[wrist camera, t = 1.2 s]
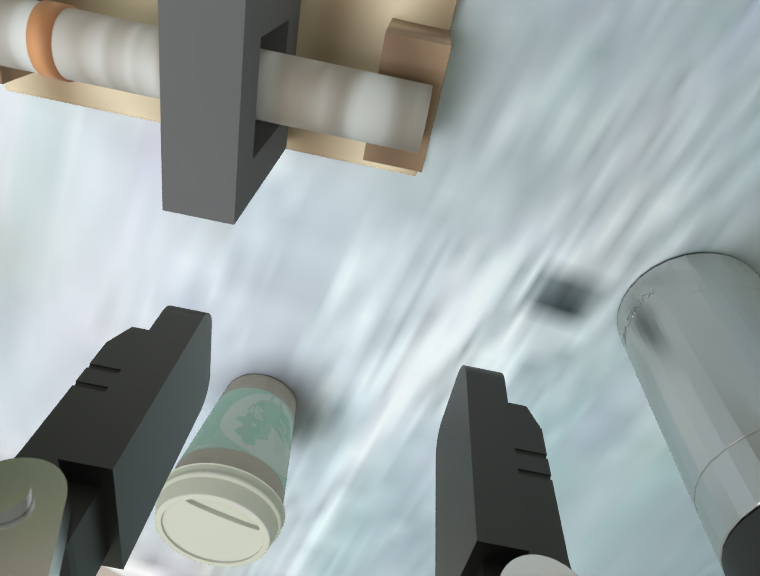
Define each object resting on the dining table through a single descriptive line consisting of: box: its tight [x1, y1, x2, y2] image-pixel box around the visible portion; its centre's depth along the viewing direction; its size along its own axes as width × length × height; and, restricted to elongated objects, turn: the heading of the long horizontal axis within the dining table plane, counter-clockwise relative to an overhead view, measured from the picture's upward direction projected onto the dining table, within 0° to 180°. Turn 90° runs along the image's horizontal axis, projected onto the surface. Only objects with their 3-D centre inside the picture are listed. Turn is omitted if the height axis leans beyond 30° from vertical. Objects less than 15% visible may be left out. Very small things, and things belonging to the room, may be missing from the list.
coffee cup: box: [154, 374, 296, 567], centre depth 41 cm, size 9×8×12 cm
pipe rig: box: [0, 0, 457, 176], centre depth 28 cm, size 24×10×9 cm, turn 79°
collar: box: [158, 0, 301, 225], centre depth 26 cm, size 3×9×10 cm, turn 169°
